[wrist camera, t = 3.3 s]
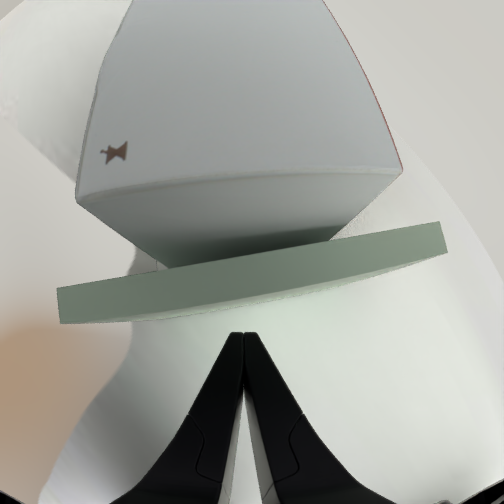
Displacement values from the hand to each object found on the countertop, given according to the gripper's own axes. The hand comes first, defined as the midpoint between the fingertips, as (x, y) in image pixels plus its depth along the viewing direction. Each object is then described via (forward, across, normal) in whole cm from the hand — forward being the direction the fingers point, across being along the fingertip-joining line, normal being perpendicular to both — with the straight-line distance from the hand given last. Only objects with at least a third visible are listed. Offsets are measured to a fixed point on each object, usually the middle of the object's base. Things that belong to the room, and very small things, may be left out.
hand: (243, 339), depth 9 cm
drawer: (+10, 0, 0) cm, 10 cm away
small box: (+10, 0, +1) cm, 10 cm away
